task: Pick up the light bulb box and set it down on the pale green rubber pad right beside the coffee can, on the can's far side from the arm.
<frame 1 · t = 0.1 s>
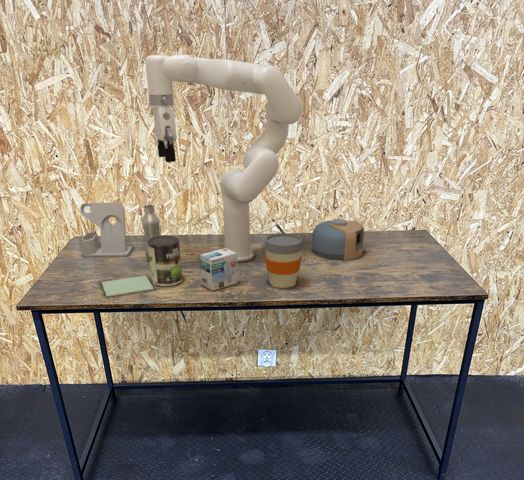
hand: (167, 159, 163), 37 cm above the table, tool pointing down, fingers open, 9 cm apart
pad: (127, 286, 164), on the table
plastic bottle: (155, 260, 186), on the table
reusable coffee cup: (282, 283, 168), on the table
coffee can: (167, 280, 169), on the table
phone holder: (108, 252, 193), on the table
alarm clock: (336, 251, 195), on the table
light bulb box: (219, 284, 166), on the table
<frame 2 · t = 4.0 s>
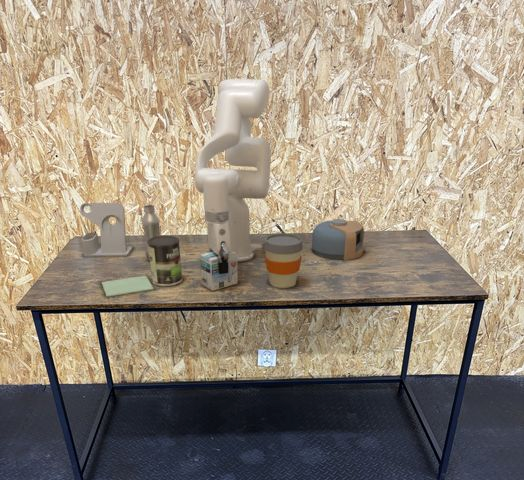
hand: (219, 268, 163), 6 cm above the table, tool pointing down, fingers closed on light bulb box, 8 cm apart
light bulb box: (220, 284, 166), on the table, touching gripper
everything else where it was.
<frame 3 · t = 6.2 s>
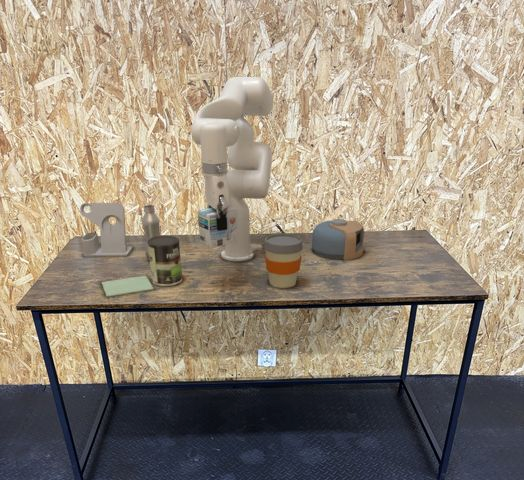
hand: (217, 225, 157), 20 cm above the table, tool pointing down, fingers closed on light bulb box, 8 cm apart
light bulb box: (218, 243, 160), point 14 cm above the table, touching gripper
everything else where it was.
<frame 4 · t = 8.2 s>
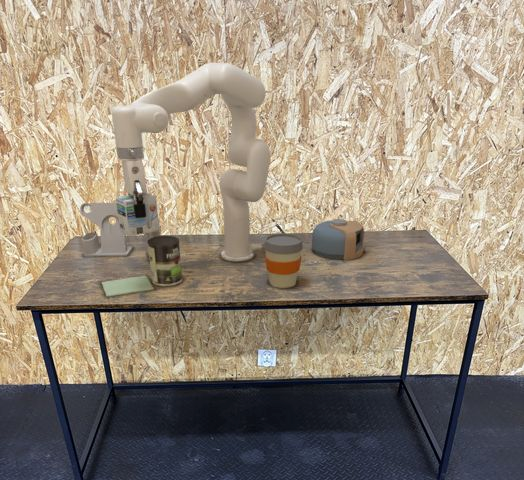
hand: (137, 213, 152), 24 cm above the table, tool pointing down, fingers closed on light bulb box, 8 cm apart
light bulb box: (140, 231, 155), point 18 cm above the table, touching gripper
everything else where it was.
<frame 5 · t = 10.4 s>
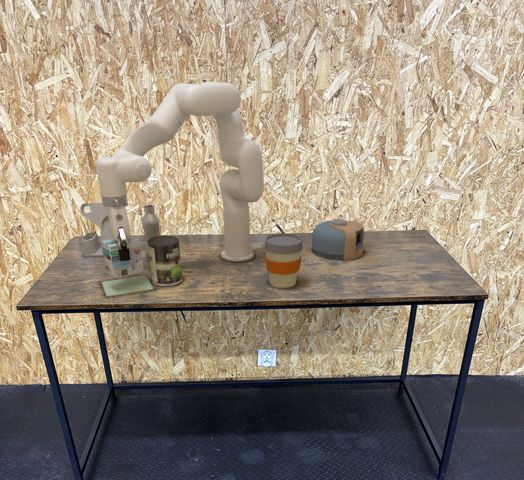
hand: (122, 255, 159), 11 cm above the table, tool pointing down, fingers closed on light bulb box, 8 cm apart
light bulb box: (125, 272, 162), point 5 cm above the table, touching gripper
everything else where it was.
when the fingers open (6 cm above the table, at t = 12.3 s): light bulb box stays where it is, resting on pad.
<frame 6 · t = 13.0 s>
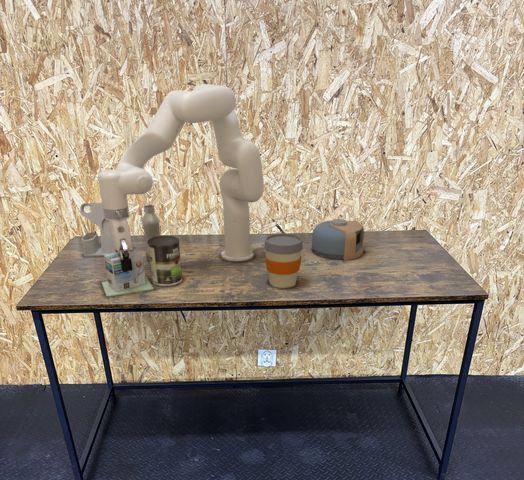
hand: (124, 265, 161), 7 cm above the table, tool pointing down, fingers open, 9 cm apart
light bulb box: (127, 285, 164), resting on pad
everything else where it was.
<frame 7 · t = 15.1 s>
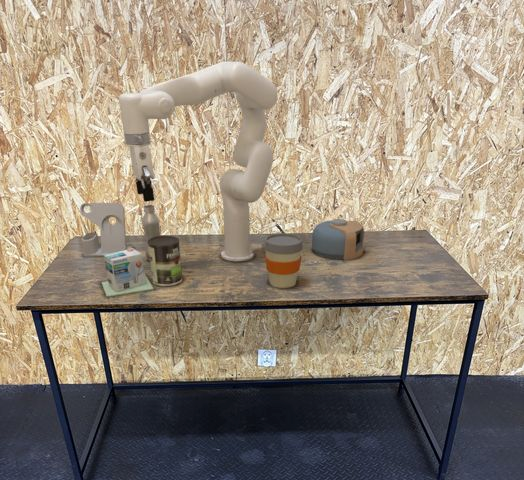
hand: (145, 197, 157), 27 cm above the table, tool pointing down, fingers open, 9 cm apart
nothing on the table moved.
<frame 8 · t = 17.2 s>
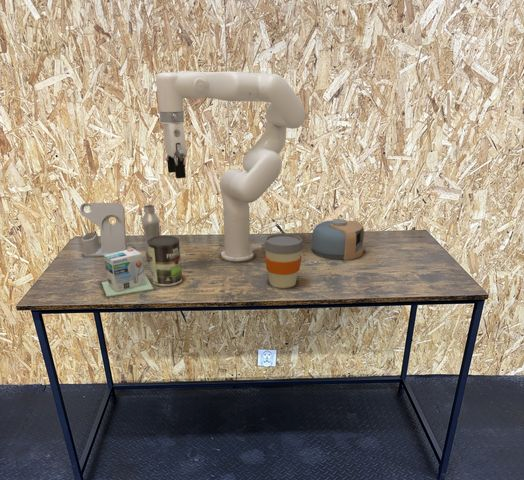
hand: (176, 175, 162), 32 cm above the table, tool pointing down, fingers open, 9 cm apart
nothing on the table moved.
at the end: light bulb box 0.1 cm off-centre on the pad, point 0.3 cm above the pad's base; light bulb box 13.4 cm from the coffee can (horizontally); light bulb box tilted 0° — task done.
